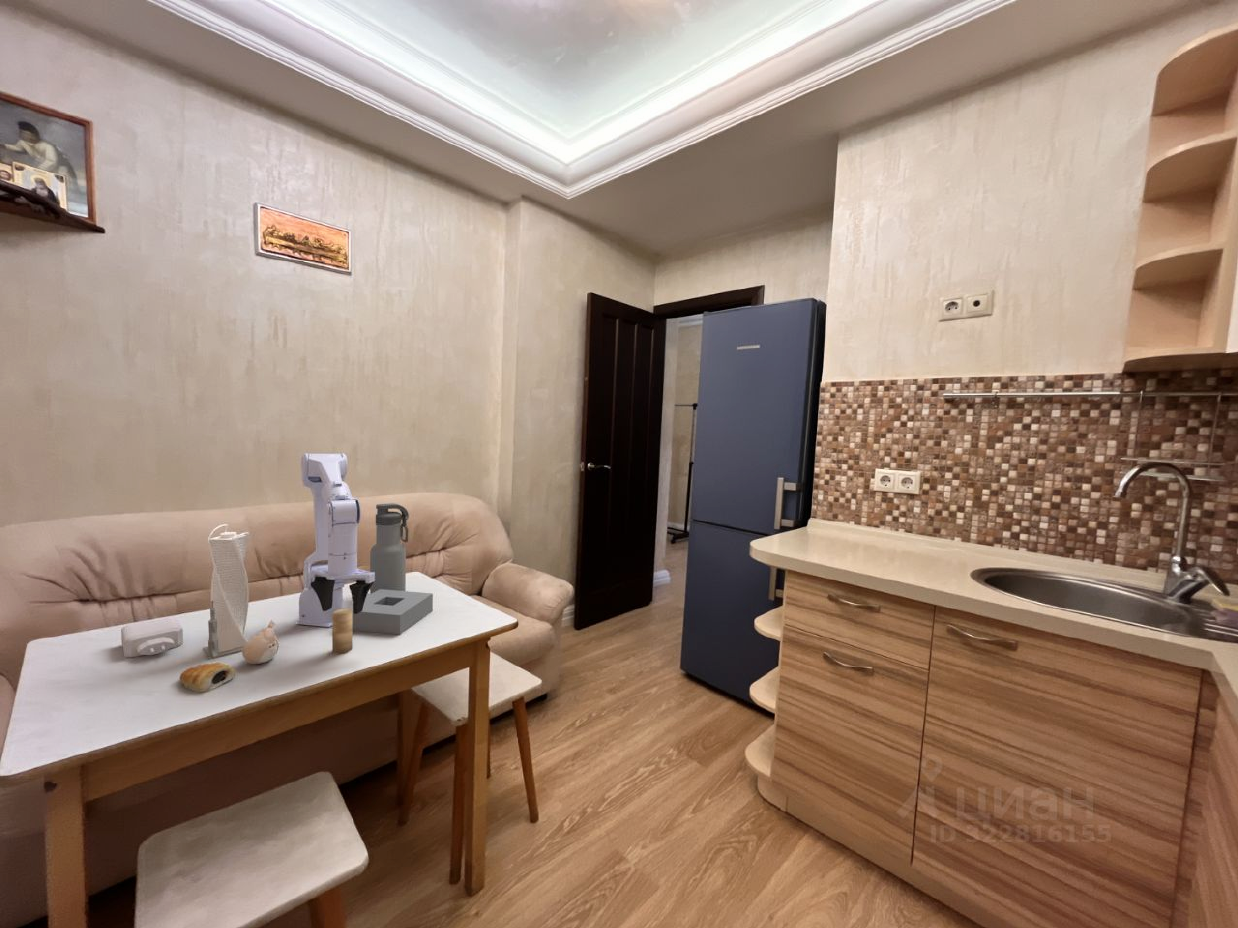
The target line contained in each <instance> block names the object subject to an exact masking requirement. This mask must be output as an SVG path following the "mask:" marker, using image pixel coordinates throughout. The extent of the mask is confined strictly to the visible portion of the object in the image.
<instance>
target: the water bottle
mask: <svg viewBox="0 0 1238 928" xmlns="http://www.w3.org/2000/svg"><path fill="white" fill-rule="evenodd" d="M375 508H376V510H377V511H376V514H375V526H376V537H375V538H376V539H375V540H376V544H374V545H373V546H372V547H370V553H369V555H370V556H369V560H370V561H369V564H370V565H369V567H370V569H369V572H374V573H375V581H374V583H373V584H372V586H371V588H370V590H369V595H370V594H372V593H374V592H375V591H377V590H379V589H385V590H396V591H407V590H406V582H407V581H406V579H407V578H406V575H407V574H406V570H407V569H406V568H407V567H406V566H407V547H406V545H405V544H404V543H408V542H409V527H408V524H407V521H408V520H409V518H410V515H409V514H410V513H409V511H408V509H406V508H405V507H404V506H403V505H400V504H398V503H379V504H376V505H375ZM389 510H399V511H400V512H401V513H400V512H399V511H389ZM404 529H405V537H404ZM401 541H403V542H404V543H402V542H401Z"/></svg>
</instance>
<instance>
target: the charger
mask: <svg viewBox="0 0 1238 928" xmlns="http://www.w3.org/2000/svg"><path fill="white" fill-rule="evenodd" d="M183 632H184V630H183V627H182V625H181V624H180V622H179V620H178V618H177V616H165V617H159V618H156V619H155V618H153V619H151V620H150V619H149V620H144V621H140V622H135V623H134V622H133V623H130V624H129V623H128V624H127V625H124V626H122V627H121V630H120V636H121V638H120V640H121V641H120V642H121V646H122V650H123V655H124V658H129V659H130V658H136V657H142V656H144V655H145V656H152V655H157V654H161V653H164V652H166V651H168V650H169V649H170V650H171V649H173V648H177V647H180V646H181V645H183V643H184V636H183V635H184V633H183Z"/></svg>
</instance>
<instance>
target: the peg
mask: <svg viewBox="0 0 1238 928" xmlns="http://www.w3.org/2000/svg"><path fill="white" fill-rule="evenodd" d="M331 629H332V630H331V633H332V634H331V637H332V640H331V641H332V643H331V644H332V647H331V649H332V650H331V652H332V653H333V654H335V655H342V654H343V655H344V654H346V653H349V652H351V651H352V650H353V636H354V634H353V631H354V630H353V610H352V609H339V610H336V611H334V612H333V613H332V626H331Z"/></svg>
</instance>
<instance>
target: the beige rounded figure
mask: <svg viewBox="0 0 1238 928" xmlns="http://www.w3.org/2000/svg"><path fill="white" fill-rule="evenodd" d="M276 625H277V624H276V623H275V622H274V621H273V620H272V619H271V620H270V621H269V623H268V625H267V627H266V628H264V629H262V631H260V632H258V633H256V634H255V636H254V637H252V638H251V639H249V640H248V641H247V642H246V644H245V645H244V647H243V650H242V652H241V655H242V658H243V659H244V660H245V661H246V662H247V663H249V664H251V665H258V664H264V663H266V662H269V661H271V660H272V659H273V658H274V657H275V655H277V653H278V651H279V647H280V646H279V640H278V638H277V637H276V634H275V632H274V630H273V628H274V626H276Z"/></svg>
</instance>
